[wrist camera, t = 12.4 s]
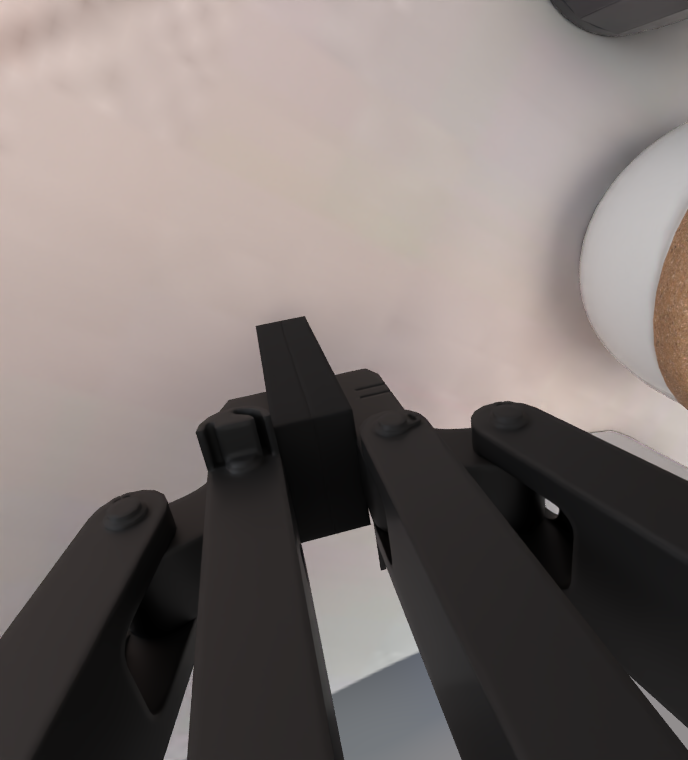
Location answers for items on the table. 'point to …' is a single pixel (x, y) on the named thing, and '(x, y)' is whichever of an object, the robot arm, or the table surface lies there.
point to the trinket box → (643, 267)
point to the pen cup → (622, 14)
